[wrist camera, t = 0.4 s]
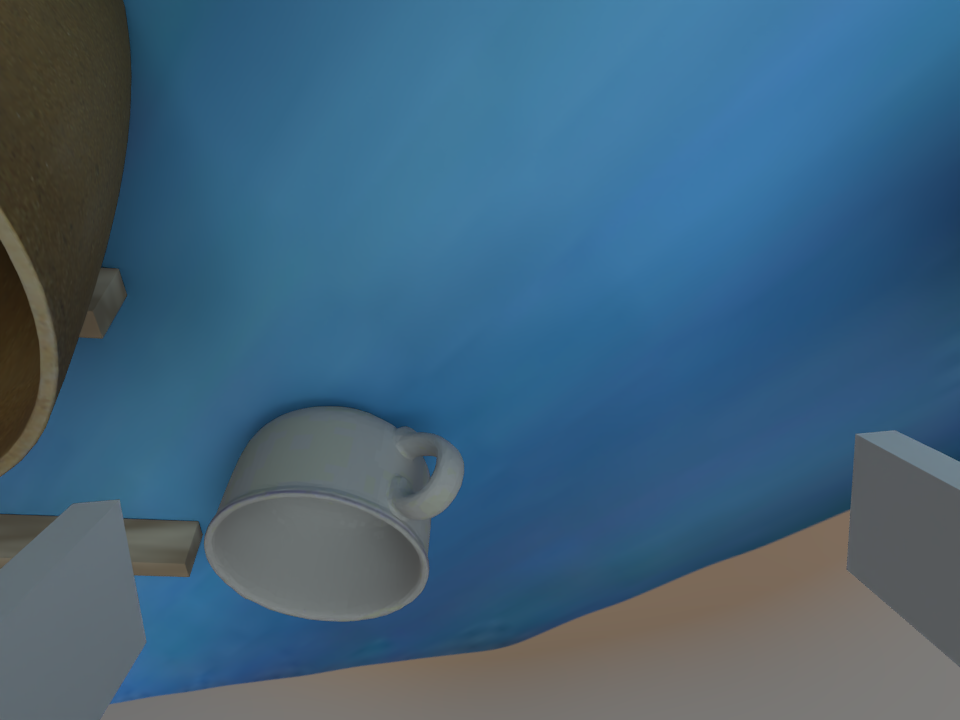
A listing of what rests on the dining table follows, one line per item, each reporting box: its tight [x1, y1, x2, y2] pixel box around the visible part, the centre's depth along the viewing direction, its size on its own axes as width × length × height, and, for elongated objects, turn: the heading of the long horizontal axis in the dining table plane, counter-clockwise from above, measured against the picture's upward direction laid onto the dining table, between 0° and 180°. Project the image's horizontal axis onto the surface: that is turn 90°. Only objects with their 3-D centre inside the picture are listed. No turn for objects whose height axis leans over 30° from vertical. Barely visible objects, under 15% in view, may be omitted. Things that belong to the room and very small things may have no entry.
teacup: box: [204, 406, 464, 621], centre depth 37 cm, size 14×11×8 cm
